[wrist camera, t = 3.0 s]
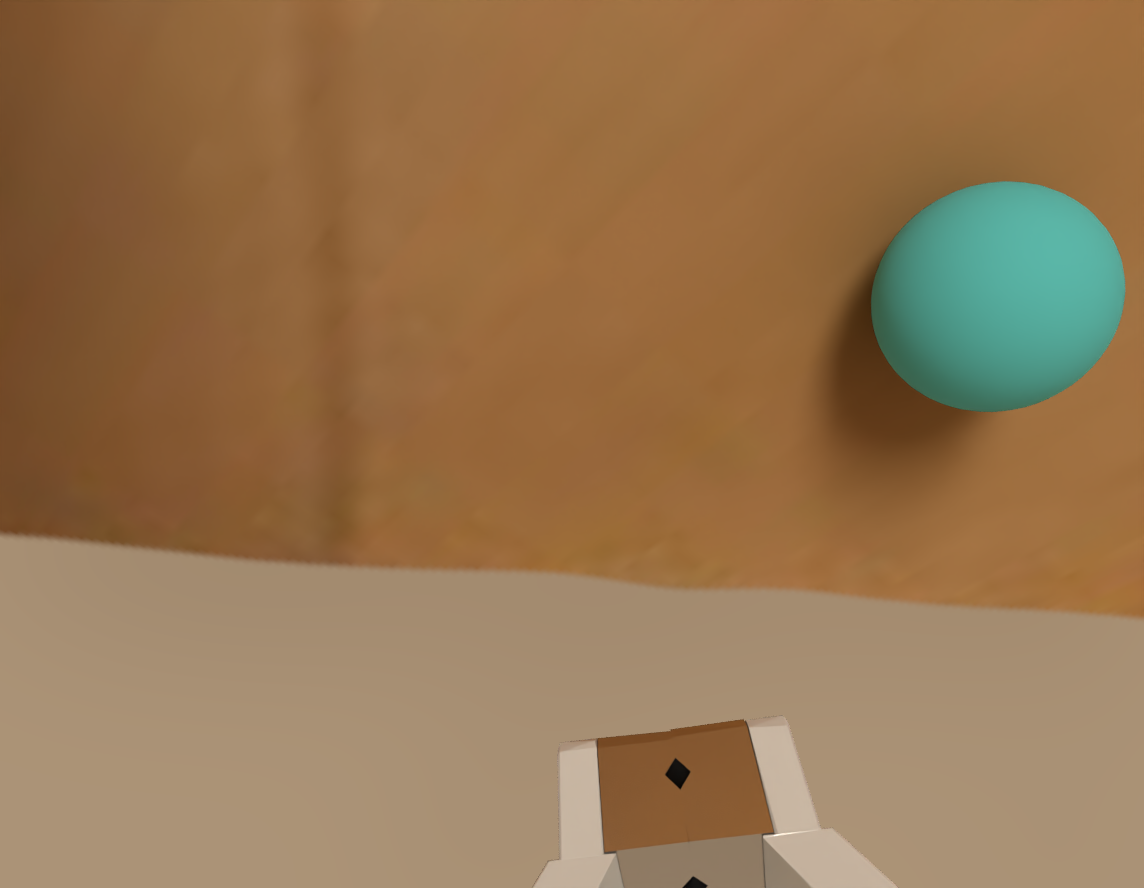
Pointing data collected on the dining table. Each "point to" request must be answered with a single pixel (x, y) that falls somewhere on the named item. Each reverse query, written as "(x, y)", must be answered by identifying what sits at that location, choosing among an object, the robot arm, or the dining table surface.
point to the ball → (998, 296)
